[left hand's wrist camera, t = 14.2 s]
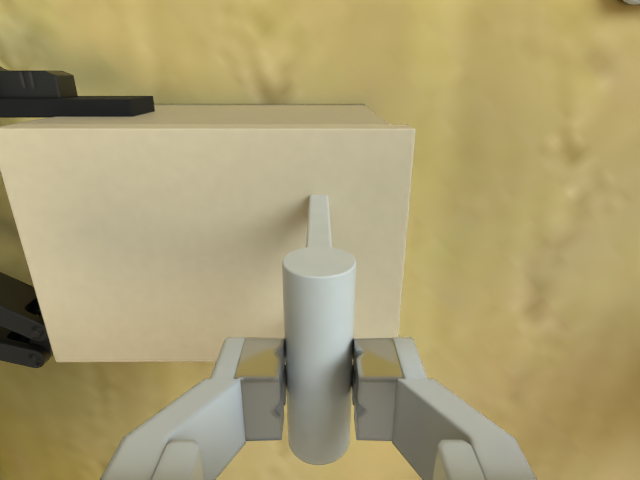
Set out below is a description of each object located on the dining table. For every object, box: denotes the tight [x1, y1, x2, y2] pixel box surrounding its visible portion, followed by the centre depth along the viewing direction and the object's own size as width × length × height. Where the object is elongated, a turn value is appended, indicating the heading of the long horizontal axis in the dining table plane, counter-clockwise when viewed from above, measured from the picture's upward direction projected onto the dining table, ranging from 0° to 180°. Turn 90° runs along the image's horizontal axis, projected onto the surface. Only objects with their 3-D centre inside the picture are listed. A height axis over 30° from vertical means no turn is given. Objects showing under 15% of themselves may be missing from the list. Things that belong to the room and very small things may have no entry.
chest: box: [16, 104, 389, 124], centre depth 23 cm, size 14×10×10 cm
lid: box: [0, 124, 416, 465], centre depth 14 cm, size 15×10×8 cm
